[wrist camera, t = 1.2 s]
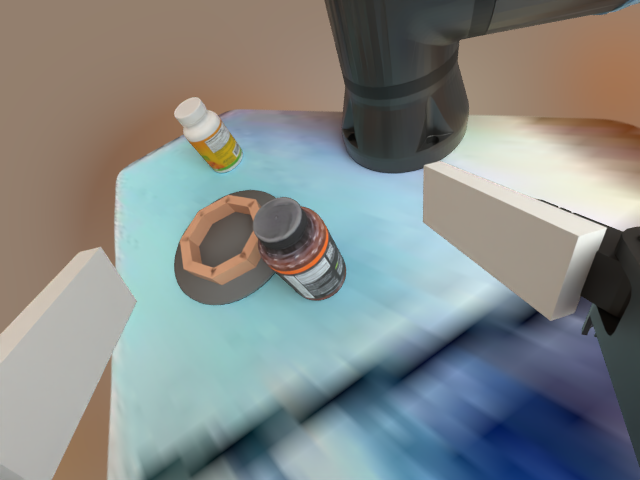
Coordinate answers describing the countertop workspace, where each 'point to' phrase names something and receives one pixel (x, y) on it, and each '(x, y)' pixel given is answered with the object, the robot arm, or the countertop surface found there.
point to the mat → (225, 258)
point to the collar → (199, 231)
